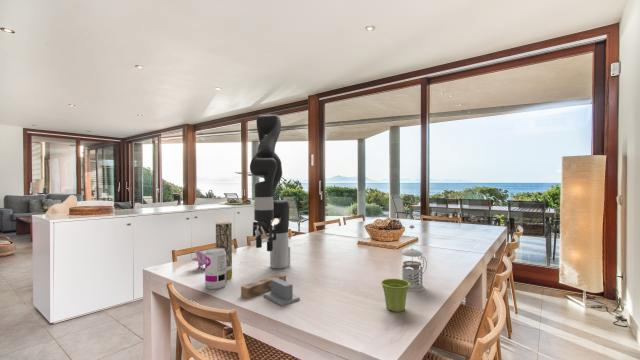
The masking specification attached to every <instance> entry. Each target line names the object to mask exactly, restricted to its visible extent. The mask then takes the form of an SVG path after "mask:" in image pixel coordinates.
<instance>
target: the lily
mask: <svg viewBox="0 0 640 360" xmlns="http://www.w3.org/2000/svg"><path fill="white" fill-rule="evenodd" d="M194 253H195V255H196V257H193V258H190V261H194V262H197V266H198V267H199V268H200V267H201V269H203V267H204V266H205V253H203V252H202V251H200V250H196V249H195V250H194Z"/></svg>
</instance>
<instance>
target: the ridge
mask: <svg viewBox="0 0 640 360" xmlns="http://www.w3.org/2000/svg"><path fill="white" fill-rule="evenodd" d="M293 288H294V287H293V284H292V283H290V282H288V281H287V280H286V281H283V280H281V279H279V278H275V279H271V290H270V291H267V292H264V293H263V297H264V298H266V299H267V300H270V301H272V302H273V303H274V304H277V305H279V306H280V307H283V306H285V305H289V304H291V303H295V302H299V301H301V297H300V296H297V295H296V294H294V293H293V290H294V289H293Z"/></svg>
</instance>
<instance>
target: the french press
mask: <svg viewBox="0 0 640 360" xmlns="http://www.w3.org/2000/svg"><path fill="white" fill-rule="evenodd" d="M409 229H415V225H413V224H411V225H409ZM401 254H402V256H405V257H411V258H416V257H417V258H418V259H419V260H420V258H421V260H422V261H423V262H422V263H423V265H422V263H421V262H420V261H416V260H415V261H414V260H405V261H403V262H402V264H403V265H402V266H401V270H402V271H401V272H402V274H401V275H402V276H401V278H402V279H401V280H405V281H407V282H409V283H410V285H409V286H408V290H407V292H423V291H425V289H426V287H425V286H424V285H423V274H424V273H425V272H426V270H427V267H428V262H427V260H426V257H424V255H423V254H424V253H423V252H421V251H420V250H418V249H414V248H409V249H408V248H407V249H405V250H402V252H401ZM419 257H420V258H419ZM424 267H425V268H424ZM423 269H424V271H423Z"/></svg>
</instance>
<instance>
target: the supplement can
mask: <svg viewBox="0 0 640 360" xmlns="http://www.w3.org/2000/svg"><path fill="white" fill-rule="evenodd" d="M204 254H205V264H204V272H205V273H204V281H205V282H204V285H205V287H206V289H209V290H218V289H223V288H225V286H226V285H227V280H226V252H225V249H223V248H216V247H214V248H213V247H212V248H209V249H206V251H205V253H204Z"/></svg>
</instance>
